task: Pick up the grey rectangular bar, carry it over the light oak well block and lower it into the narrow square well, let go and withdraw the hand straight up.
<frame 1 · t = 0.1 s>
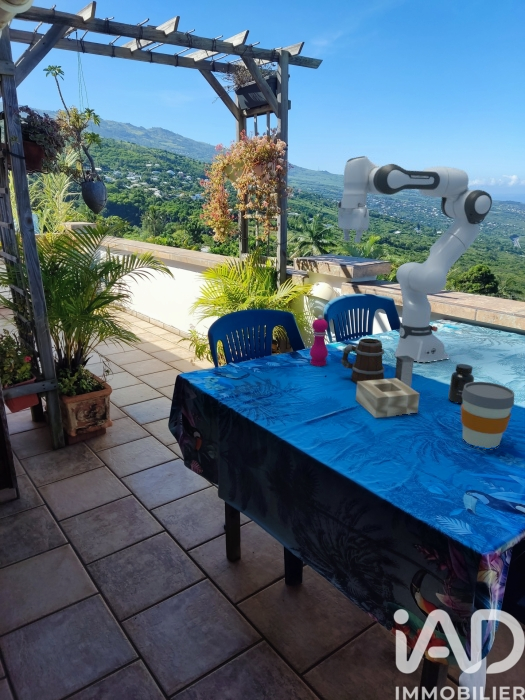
hand: (351, 241, 178), 48 cm above the table, tool pointing down, fingers open, 8 cm apart
well block: (385, 406, 149), on the table
supplement bottle: (459, 401, 154), on the table
grey rectangular bar: (401, 390, 162), on the table
reusable coffee cup: (480, 442, 127), on the table
pepper mill: (318, 364, 190), on the table
mug: (361, 380, 172), on the table
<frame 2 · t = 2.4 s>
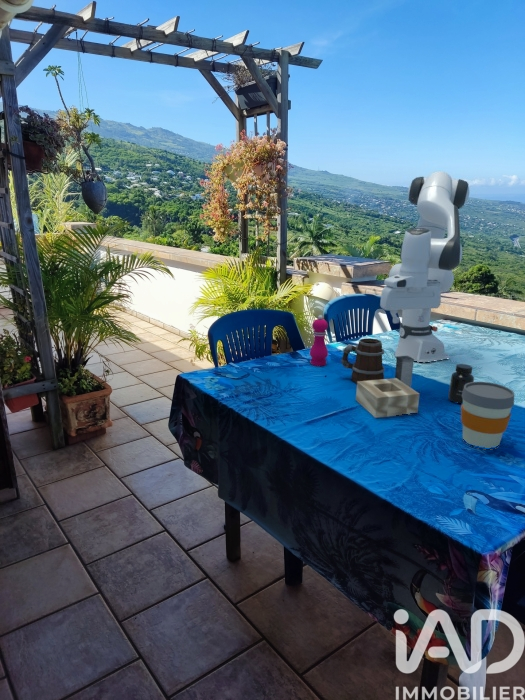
hand: (408, 322, 155), 24 cm above the table, tool pointing down, fingers open, 8 cm apart
nothing on the table moved.
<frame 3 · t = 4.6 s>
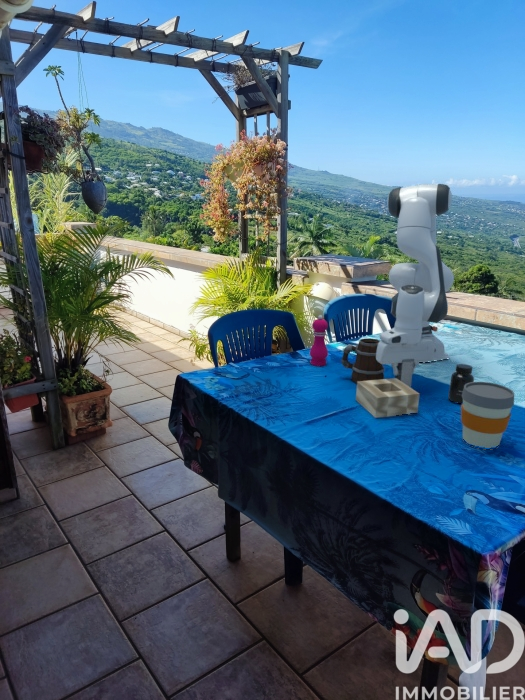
hand: (403, 374, 160), 6 cm above the table, tool pointing down, fingers closed on grey rectangular bar, 4 cm apart
grey rectangular bar: (401, 390, 162), on the table, touching gripper
everything else where it was.
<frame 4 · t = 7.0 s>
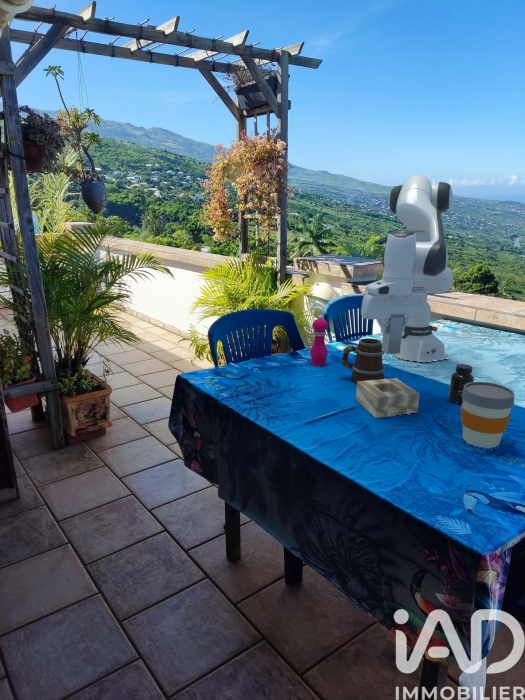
hand: (392, 332, 142), 24 cm above the table, tool pointing down, fingers closed on grey rectangular bar, 4 cm apart
grey rectangular bar: (390, 351, 144), point 18 cm above the table, touching gripper
everything else where it was.
when the fingers open (8 cm above the table, at t = 9.7 s): grey rectangular bar drops 1 cm, resting on well block.
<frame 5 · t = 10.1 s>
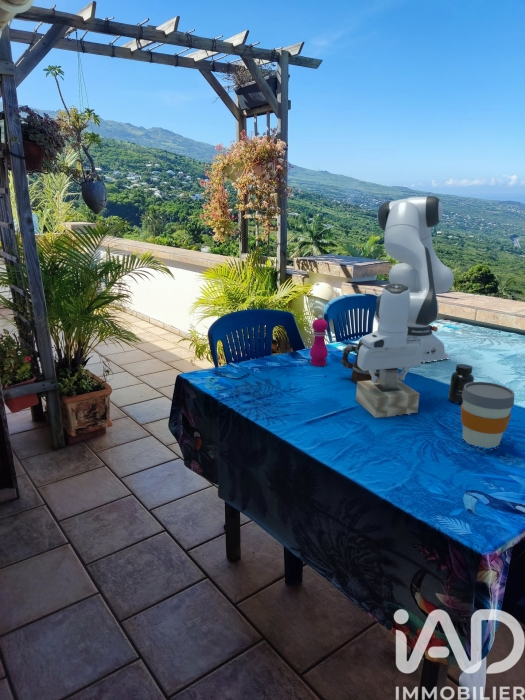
hand: (387, 381, 147), 9 cm above the table, tool pointing down, fingers open, 8 cm apart
grey rectangular bar: (385, 403, 149), point 1 cm above the table, touching well block
everything else where it was.
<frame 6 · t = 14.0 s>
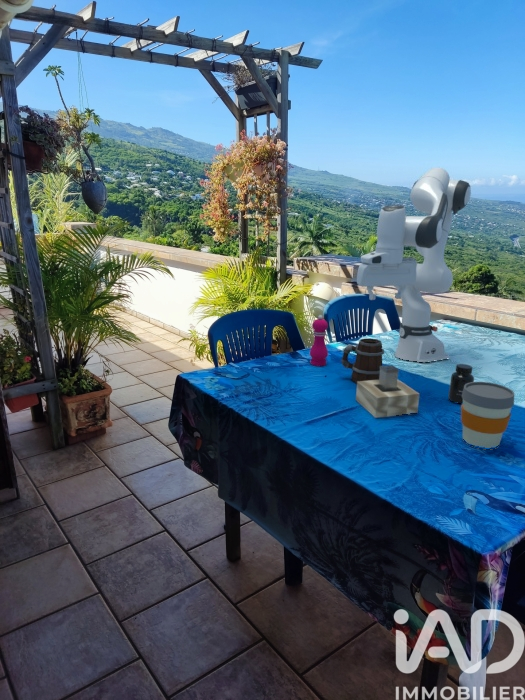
hand: (385, 299, 157), 31 cm above the table, tool pointing down, fingers open, 8 cm apart
nothing on the table moved.
at the end: grey rectangular bar 0.1 cm off-centre on the well block, point 1.0 cm above the well block's base; grey rectangular bar tilted 0°; the gripper is holding nothing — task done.
